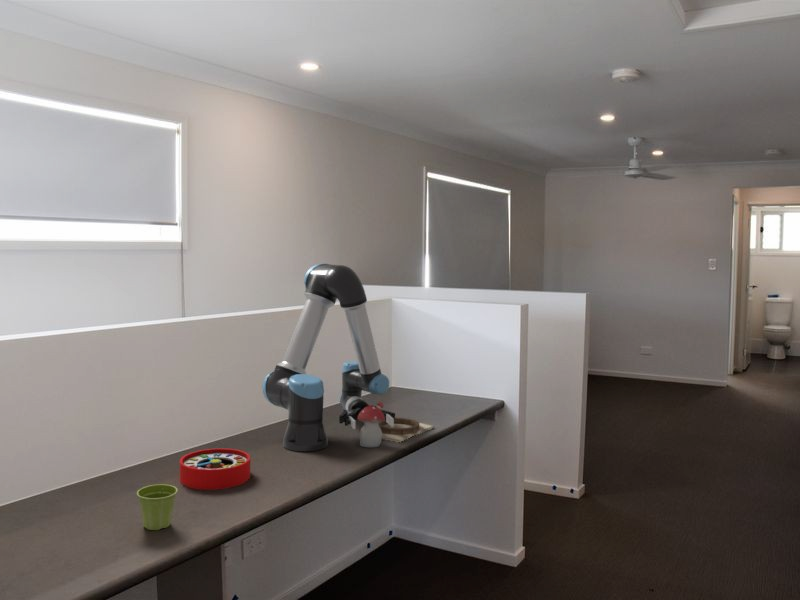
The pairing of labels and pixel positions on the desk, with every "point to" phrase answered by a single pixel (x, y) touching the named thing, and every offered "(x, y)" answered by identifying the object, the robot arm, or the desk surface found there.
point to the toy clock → (214, 468)
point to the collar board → (403, 437)
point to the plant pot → (157, 505)
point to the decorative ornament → (371, 425)
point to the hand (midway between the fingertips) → (373, 423)
